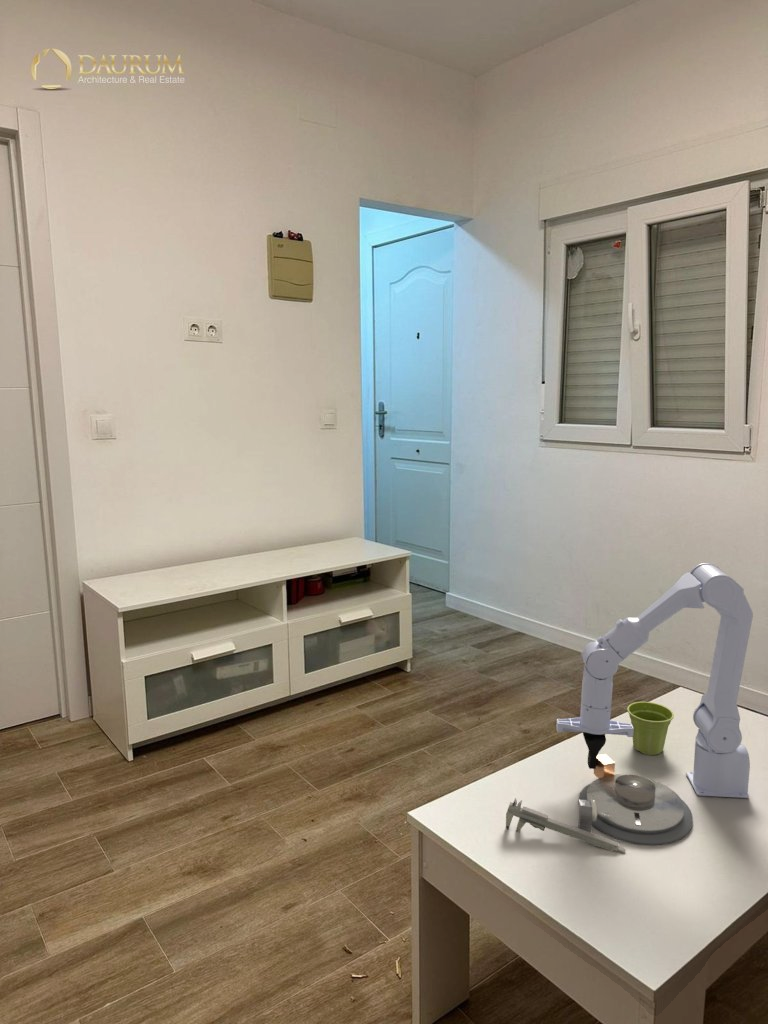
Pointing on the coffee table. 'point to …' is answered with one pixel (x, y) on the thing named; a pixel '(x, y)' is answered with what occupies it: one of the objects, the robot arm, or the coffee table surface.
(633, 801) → the cover
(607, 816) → the turntable
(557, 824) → the caliper
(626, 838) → the plinth
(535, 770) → the coffee table surface
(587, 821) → the block
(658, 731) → the plant pot
